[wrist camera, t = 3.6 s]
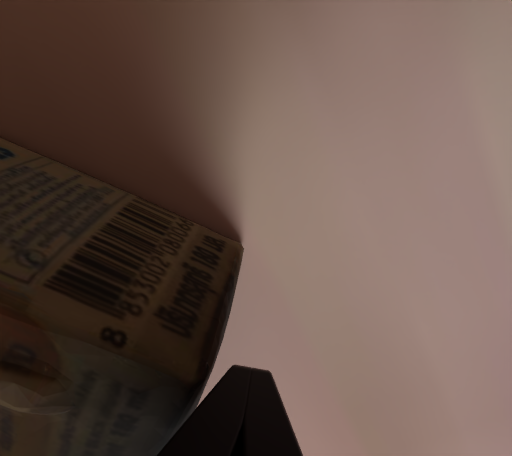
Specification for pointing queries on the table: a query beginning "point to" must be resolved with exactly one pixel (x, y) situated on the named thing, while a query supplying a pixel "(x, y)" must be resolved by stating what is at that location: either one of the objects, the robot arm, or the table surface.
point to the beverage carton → (102, 313)
